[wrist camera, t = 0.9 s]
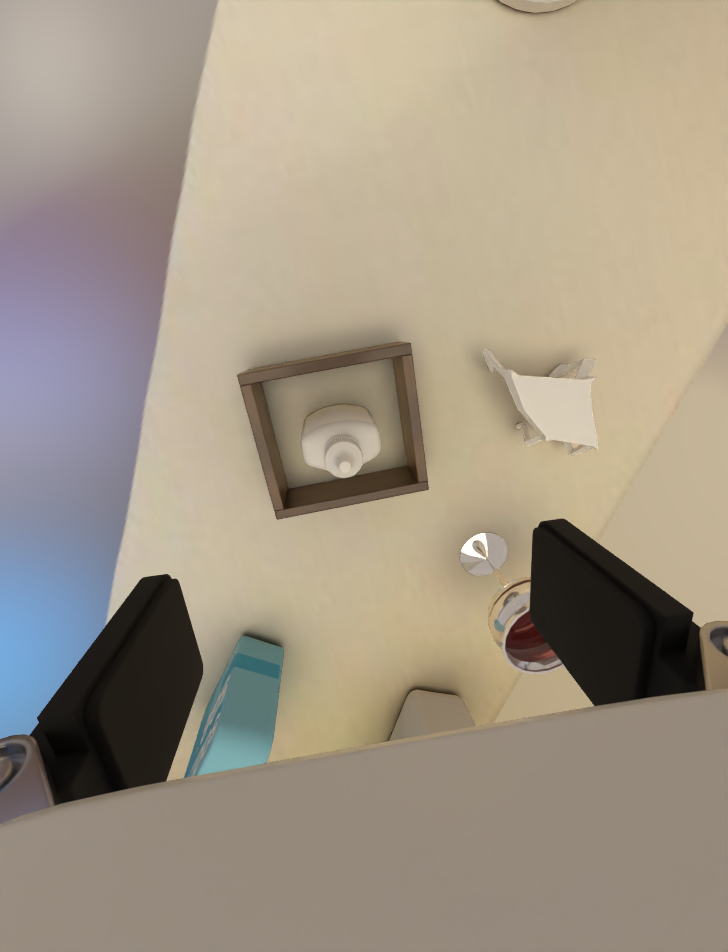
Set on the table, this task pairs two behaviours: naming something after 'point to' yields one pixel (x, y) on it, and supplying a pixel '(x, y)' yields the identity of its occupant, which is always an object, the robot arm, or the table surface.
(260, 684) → the data package
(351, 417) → the eye dropper bottle
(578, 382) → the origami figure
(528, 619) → the wineglass
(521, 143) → the table surface
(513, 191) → the table surface
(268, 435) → the square wooden box frame
